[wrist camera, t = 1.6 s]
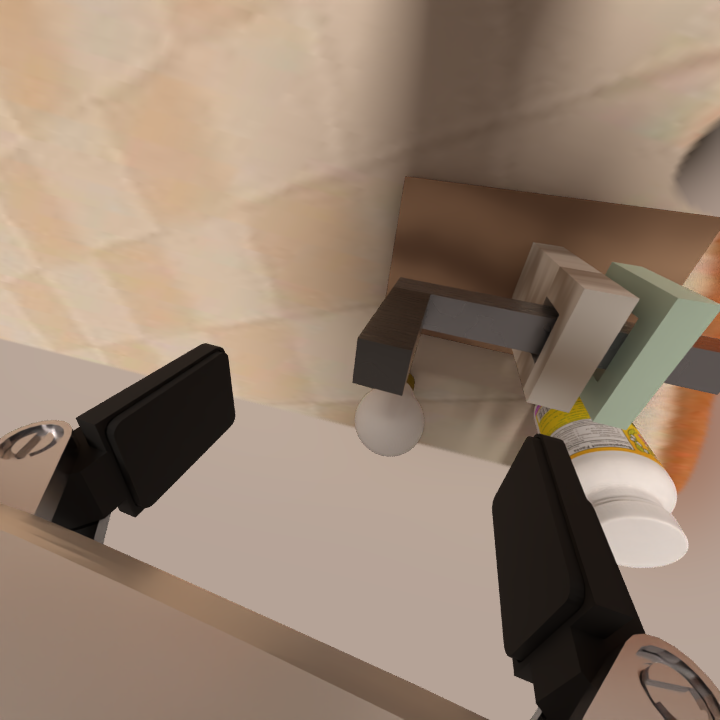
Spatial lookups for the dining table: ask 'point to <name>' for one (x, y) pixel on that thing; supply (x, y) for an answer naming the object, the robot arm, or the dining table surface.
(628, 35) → the dining table surface
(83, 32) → the dining table surface
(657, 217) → the stand
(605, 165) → the dining table surface
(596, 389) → the collar
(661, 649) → the robot arm
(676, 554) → the supplement bottle
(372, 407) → the light bulb
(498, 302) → the dark grey bent bar
